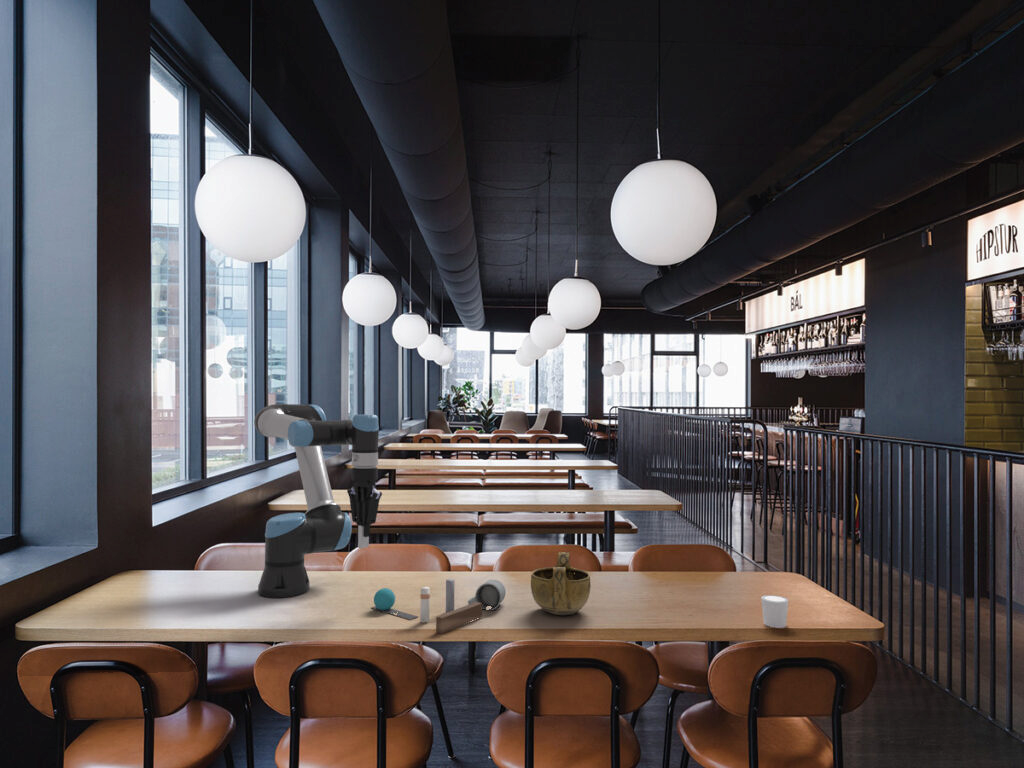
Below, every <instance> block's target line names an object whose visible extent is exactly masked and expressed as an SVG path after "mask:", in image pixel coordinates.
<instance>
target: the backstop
mask: <svg viewBox="0 0 1024 768" xmlns="http://www.w3.org/2000/svg"><path fill="white" fill-rule="evenodd" d="M480 617H482V618H483V609H482V603H479V602H475V603H472V604H469V603H468V604H467V605H465V606H461V607H459V608H456V609H454V610H453V611H450V612H448V613H446V612H445V613H443V614H440V615H437V616H436V617H435V621H436V622H435V625H436V626H435V632H436V634H437V633H438V634H441V635H443V634H446V633H448V632H450V631H451V632H452V631H453V630H455V629H457V627H458V628H461V627H463V626H465V625H464V624H466V623H468V622H470V621H472V620H475V619H477V618H480ZM468 624H469V623H468ZM462 625H463V626H462ZM466 625H467V624H466ZM460 626H461V627H460Z"/></svg>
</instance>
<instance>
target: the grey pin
mask: <svg viewBox="0 0 1024 768" xmlns="http://www.w3.org/2000/svg"><path fill="white" fill-rule="evenodd" d="M455 583H456V582H455V579H454V578H448V579H446V580H445V613H448V612H450V611H453V610H455V591H456V589H455V586H456V585H455Z"/></svg>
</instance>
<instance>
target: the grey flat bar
mask: <svg viewBox="0 0 1024 768" xmlns="http://www.w3.org/2000/svg"><path fill="white" fill-rule="evenodd" d="M371 608H373V610H375V609H377V610H376V611H378V610H380V609H378V608H377V607H376V606H375V605H374V606H372V607H370V609H371ZM381 611H383V612H382V613H385V612H387V613H386V614H388V613H390V614H389V615H391V613H392V614H393V613H395V614H396V613H397V612H398V613H397V616H396V617H398V616H400V617H399V618H402V617H404V618H403V619H405V618H407V619H406V620H408V619H412V620H415V619H417V618H416V617H418V618H419V616H418V615H415V614H411V613H407V612H405V611H400V610H396V609H393V608H390V609H388V610H380V611H379V612H381ZM414 618H415V619H414Z"/></svg>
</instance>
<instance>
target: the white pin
mask: <svg viewBox="0 0 1024 768" xmlns="http://www.w3.org/2000/svg"><path fill="white" fill-rule="evenodd" d="M430 592H431V588H430V587H429V586H422V587H420V594H419V595H420V611H419V612H420V614H419V615H420V619H419V622H420V623H421V622H423V623H422V624H425V623H424V622H428V621H429V622H430V604H431V603H430V602H431V601H430V598H431V593H430ZM429 622H428V623H429Z"/></svg>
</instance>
